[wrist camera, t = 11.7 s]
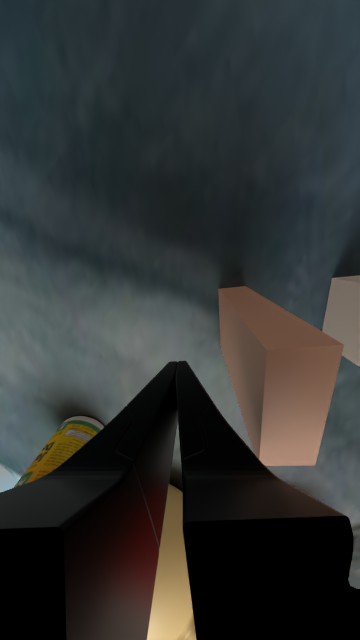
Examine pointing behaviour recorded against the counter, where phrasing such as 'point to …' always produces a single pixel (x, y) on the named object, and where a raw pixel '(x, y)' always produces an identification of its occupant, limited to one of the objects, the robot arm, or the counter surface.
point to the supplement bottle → (61, 446)
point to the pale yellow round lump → (172, 579)
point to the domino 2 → (344, 315)
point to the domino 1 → (277, 375)
